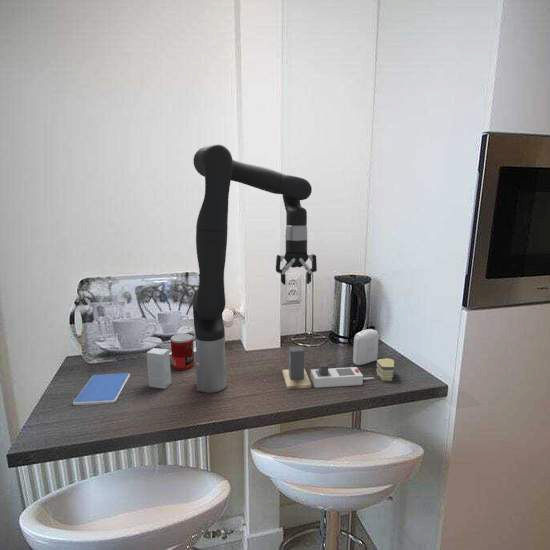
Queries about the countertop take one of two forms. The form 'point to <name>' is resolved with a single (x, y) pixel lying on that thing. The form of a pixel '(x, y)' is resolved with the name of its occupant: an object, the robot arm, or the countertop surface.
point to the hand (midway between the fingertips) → (296, 283)
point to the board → (296, 381)
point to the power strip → (336, 376)
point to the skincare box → (159, 368)
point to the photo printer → (365, 347)
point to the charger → (296, 363)
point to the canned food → (182, 351)
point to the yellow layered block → (385, 369)
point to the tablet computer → (102, 389)
